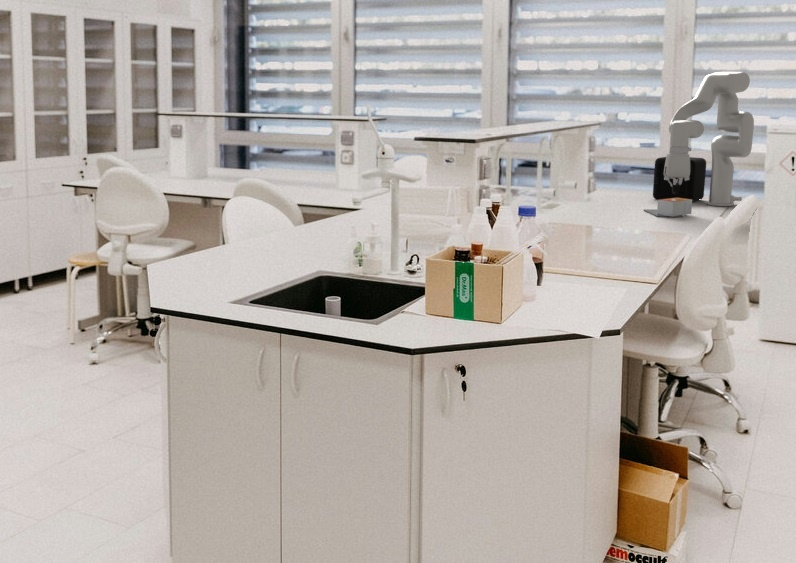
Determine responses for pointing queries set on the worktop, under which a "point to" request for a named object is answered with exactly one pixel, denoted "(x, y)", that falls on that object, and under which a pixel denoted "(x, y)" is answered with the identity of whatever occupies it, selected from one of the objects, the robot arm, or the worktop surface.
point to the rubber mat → (654, 212)
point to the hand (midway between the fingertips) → (675, 193)
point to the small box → (674, 206)
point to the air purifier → (687, 188)
